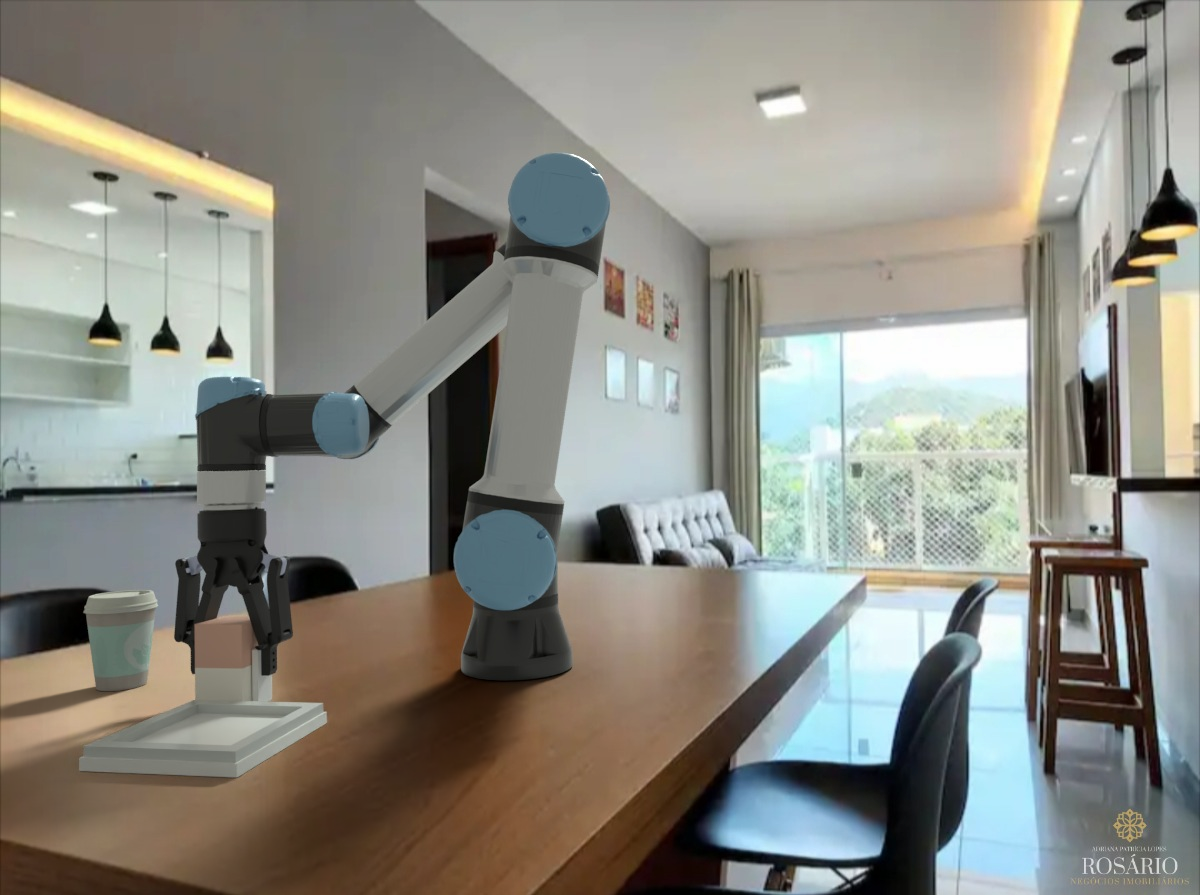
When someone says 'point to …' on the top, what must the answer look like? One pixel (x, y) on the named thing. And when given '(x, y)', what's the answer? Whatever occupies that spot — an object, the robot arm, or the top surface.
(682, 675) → the top surface
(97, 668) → the coffee cup
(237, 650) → the brick stack
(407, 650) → the top surface
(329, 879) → the top surface
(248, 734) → the base plate
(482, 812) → the top surface
